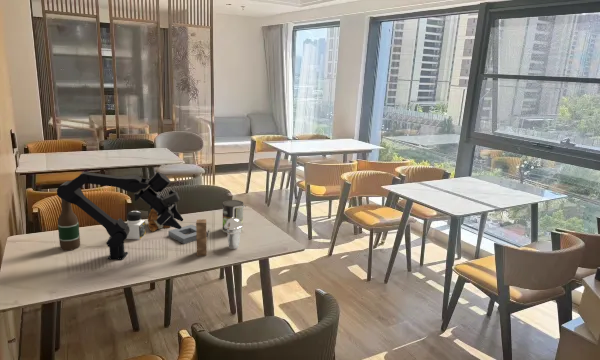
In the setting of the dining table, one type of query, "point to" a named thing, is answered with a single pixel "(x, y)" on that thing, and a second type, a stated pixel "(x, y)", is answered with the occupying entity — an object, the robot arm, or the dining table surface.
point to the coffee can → (228, 211)
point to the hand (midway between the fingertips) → (181, 224)
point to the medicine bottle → (135, 225)
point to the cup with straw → (233, 230)
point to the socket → (180, 234)
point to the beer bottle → (68, 228)
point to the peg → (201, 237)
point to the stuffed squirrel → (154, 221)
